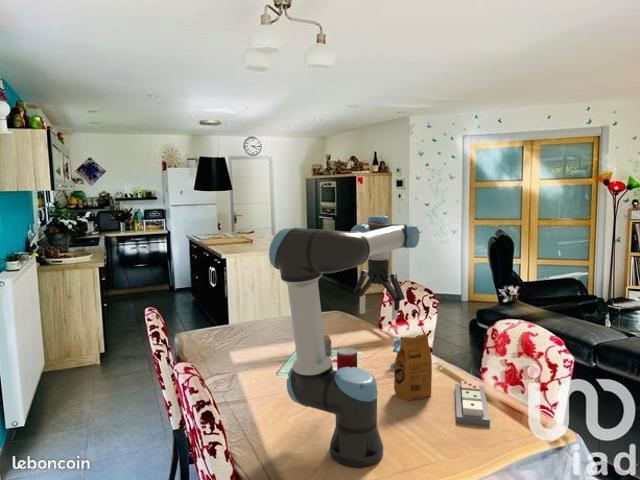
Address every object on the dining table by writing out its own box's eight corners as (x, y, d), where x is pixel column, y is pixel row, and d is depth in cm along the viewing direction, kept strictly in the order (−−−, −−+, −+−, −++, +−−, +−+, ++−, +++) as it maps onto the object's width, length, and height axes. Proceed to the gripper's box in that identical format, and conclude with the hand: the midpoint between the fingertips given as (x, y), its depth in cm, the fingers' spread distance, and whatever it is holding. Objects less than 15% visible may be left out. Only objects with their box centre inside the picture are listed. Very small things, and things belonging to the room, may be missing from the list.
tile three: (479, 395, 168) (479, 388, 168) (461, 394, 170) (461, 386, 169) (478, 388, 174) (478, 381, 174) (460, 387, 176) (461, 380, 175)
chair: (413, 363, 205) (414, 335, 204) (408, 369, 197) (409, 341, 196) (396, 360, 208) (396, 333, 207) (390, 367, 200) (390, 339, 199)
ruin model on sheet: (328, 354, 218) (328, 333, 217) (331, 356, 215) (331, 335, 214) (305, 358, 213) (304, 337, 212) (308, 360, 210) (307, 339, 209)
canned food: (356, 382, 186) (355, 354, 185) (335, 380, 187) (335, 353, 186) (358, 374, 193) (358, 347, 192) (338, 373, 195) (338, 346, 194)
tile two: (480, 406, 161) (481, 398, 160) (462, 404, 162) (462, 396, 162) (479, 398, 166) (479, 390, 166) (461, 396, 168) (461, 389, 168)
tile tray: (489, 426, 151) (489, 420, 150) (456, 422, 153) (456, 416, 153) (483, 391, 176) (483, 386, 175) (455, 389, 178) (455, 383, 178)
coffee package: (390, 391, 177) (390, 333, 174) (420, 386, 181) (420, 329, 178) (404, 403, 167) (404, 341, 165) (434, 397, 172) (435, 337, 169)
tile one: (482, 417, 153) (482, 409, 153) (463, 415, 154) (463, 407, 154) (481, 408, 159) (481, 401, 158) (462, 407, 160) (462, 399, 160)
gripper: (414, 260, 169) (413, 319, 171) (355, 254, 184) (355, 308, 187) (404, 262, 163) (403, 323, 165) (344, 257, 178) (344, 313, 181)
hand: (378, 316), depth 176 cm, fingers open, 13 cm apart
